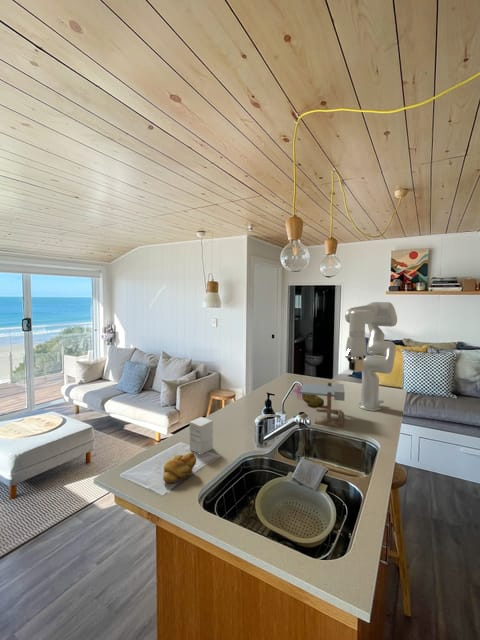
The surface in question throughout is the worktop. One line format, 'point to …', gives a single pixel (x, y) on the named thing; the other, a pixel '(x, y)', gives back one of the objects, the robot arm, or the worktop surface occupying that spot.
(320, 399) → the potato
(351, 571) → the worktop surface
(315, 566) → the worktop surface
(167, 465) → the bread roll
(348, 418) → the worktop surface
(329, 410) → the stand
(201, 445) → the supplement box
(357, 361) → the tan block
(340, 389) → the trapdoor
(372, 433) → the worktop surface
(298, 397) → the lily
